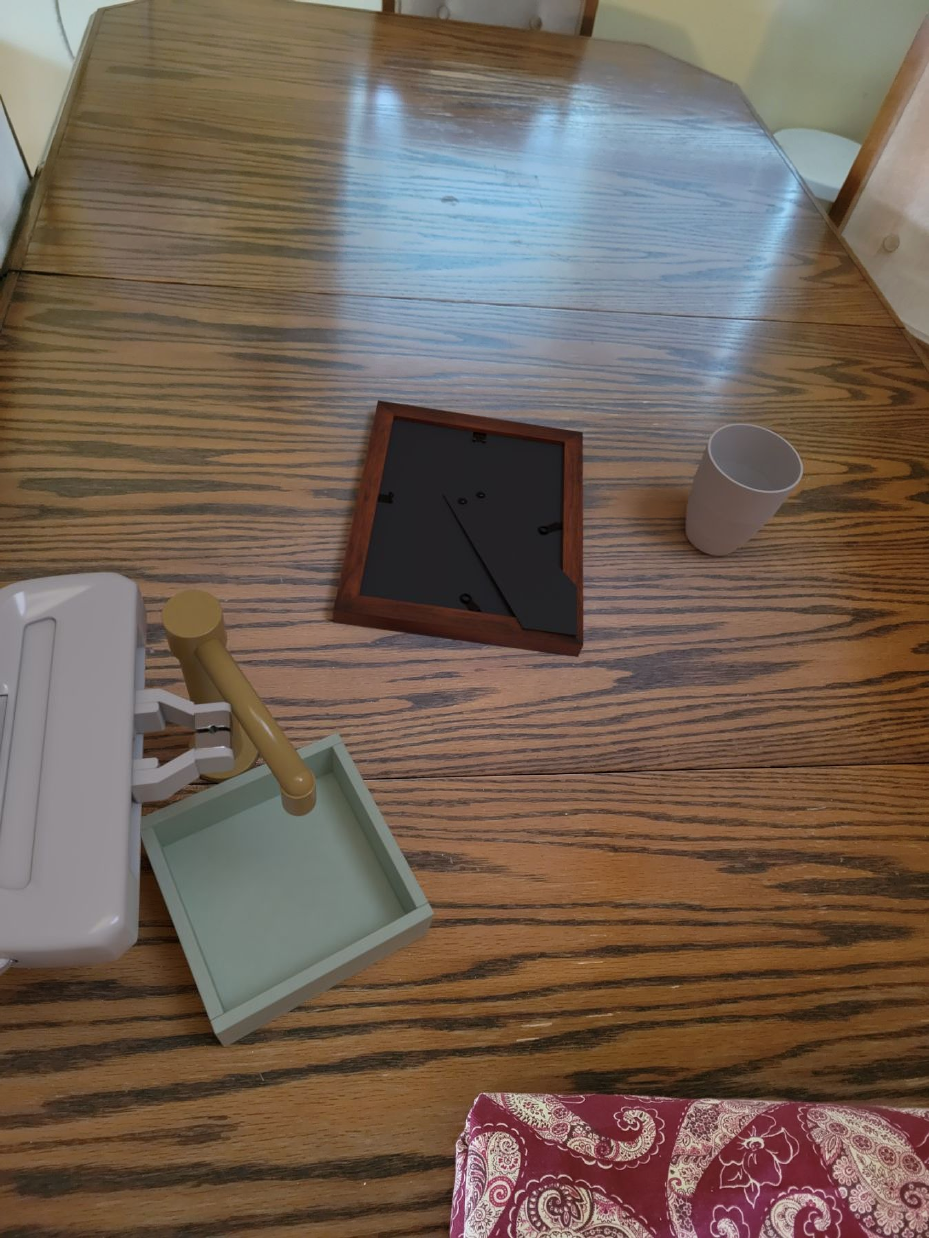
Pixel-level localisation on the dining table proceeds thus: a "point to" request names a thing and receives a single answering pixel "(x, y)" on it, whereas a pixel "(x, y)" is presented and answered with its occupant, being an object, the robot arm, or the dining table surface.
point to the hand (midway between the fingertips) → (233, 735)
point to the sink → (282, 889)
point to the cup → (739, 486)
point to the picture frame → (467, 531)
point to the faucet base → (244, 749)
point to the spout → (236, 691)
